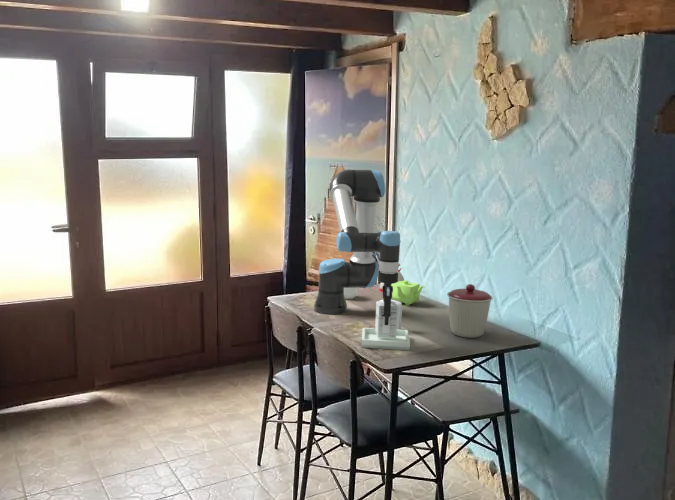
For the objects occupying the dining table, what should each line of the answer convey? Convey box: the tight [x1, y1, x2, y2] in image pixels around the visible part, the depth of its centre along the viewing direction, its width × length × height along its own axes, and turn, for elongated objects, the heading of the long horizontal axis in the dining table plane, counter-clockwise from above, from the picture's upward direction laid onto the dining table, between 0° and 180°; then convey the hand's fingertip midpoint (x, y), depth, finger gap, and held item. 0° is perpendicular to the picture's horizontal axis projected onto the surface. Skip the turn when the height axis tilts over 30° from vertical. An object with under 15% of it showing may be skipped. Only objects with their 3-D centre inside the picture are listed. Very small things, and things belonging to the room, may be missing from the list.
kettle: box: [391, 279, 426, 307], centre depth 306 cm, size 15×14×11 cm
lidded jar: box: [344, 288, 360, 300], centre depth 313 cm, size 11×11×9 cm
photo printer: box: [379, 299, 403, 330], centre depth 262 cm, size 10×4×12 cm, turn 72°
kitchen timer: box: [379, 266, 405, 293], centre depth 331 cm, size 14×14×15 cm
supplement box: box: [374, 300, 398, 338], centre depth 243 cm, size 7×7×13 cm
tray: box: [361, 327, 411, 351], centre depth 244 cm, size 18×16×3 cm
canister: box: [447, 283, 494, 339], centre depth 257 cm, size 18×18×21 cm
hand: (385, 329), depth 244 cm, fingers closed on supplement box, 8 cm apart
